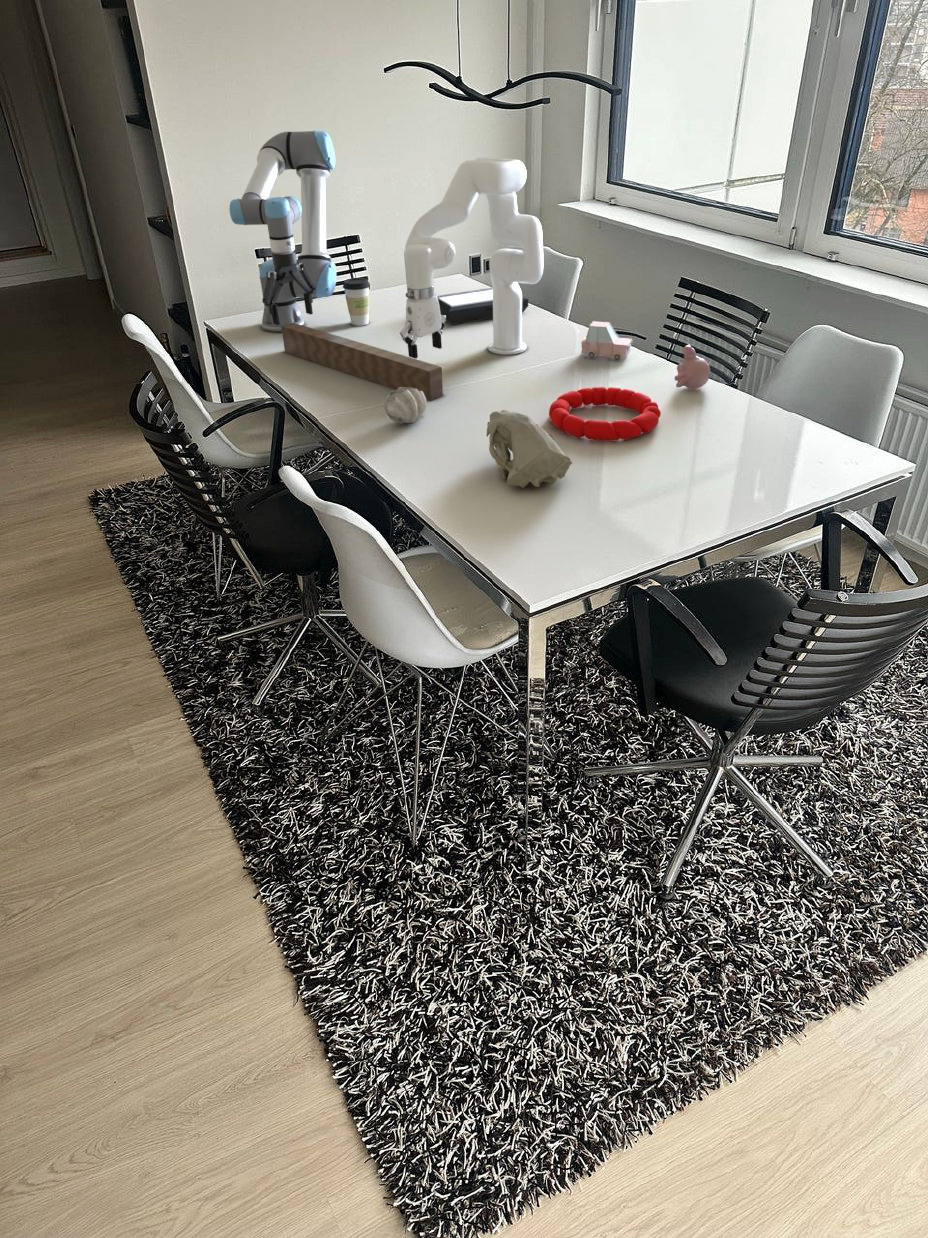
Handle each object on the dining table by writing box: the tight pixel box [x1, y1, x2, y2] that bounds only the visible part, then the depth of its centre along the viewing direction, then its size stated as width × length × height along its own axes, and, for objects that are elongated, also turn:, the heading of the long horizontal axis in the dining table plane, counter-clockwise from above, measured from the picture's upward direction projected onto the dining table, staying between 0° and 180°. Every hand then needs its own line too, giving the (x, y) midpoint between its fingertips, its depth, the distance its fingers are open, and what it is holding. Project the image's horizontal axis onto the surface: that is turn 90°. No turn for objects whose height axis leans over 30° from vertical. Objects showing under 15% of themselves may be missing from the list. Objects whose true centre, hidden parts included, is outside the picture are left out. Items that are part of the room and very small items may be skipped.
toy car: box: [580, 320, 633, 361], centre depth 286 cm, size 9×15×10 cm, turn 70°
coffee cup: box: [342, 277, 371, 327], centre depth 323 cm, size 10×10×15 cm
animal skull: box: [485, 409, 573, 489], centre depth 216 cm, size 17×25×20 cm
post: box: [281, 323, 444, 401], centre depth 280 cm, size 71×5×9 cm, turn 46°
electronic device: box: [437, 287, 529, 325], centre depth 331 cm, size 32×6×20 cm
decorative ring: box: [548, 386, 661, 442], centre depth 242 cm, size 7×30×30 cm
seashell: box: [383, 387, 427, 424], centre depth 244 cm, size 10×15×10 cm
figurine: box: [674, 344, 711, 390], centre depth 259 cm, size 9×11×12 cm
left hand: (293, 318), depth 295 cm, fingers open, 13 cm apart
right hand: (425, 352), depth 258 cm, fingers open, 9 cm apart
